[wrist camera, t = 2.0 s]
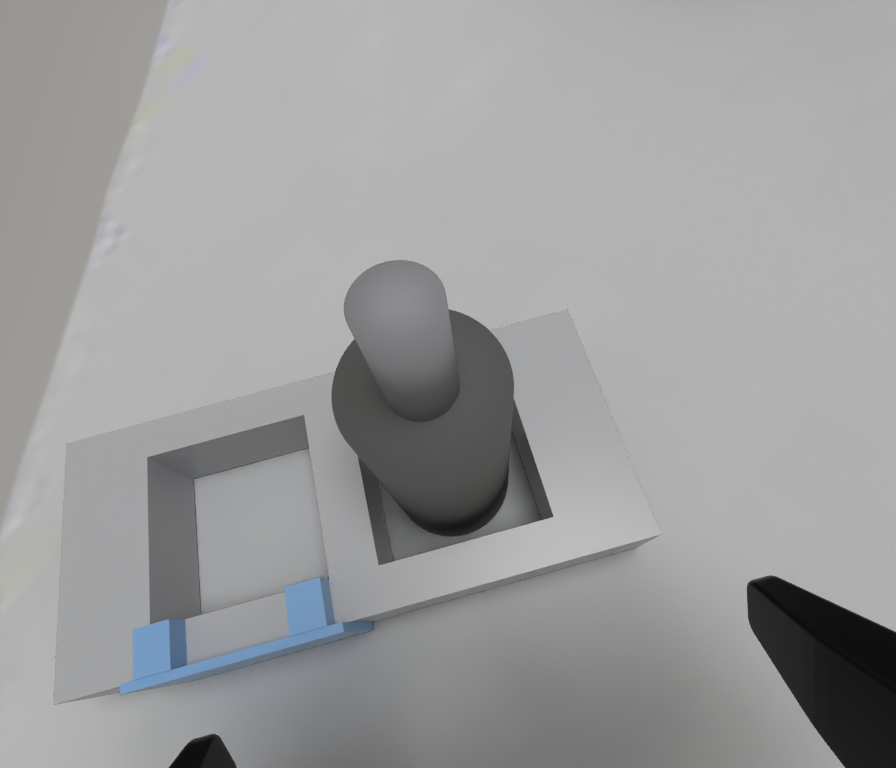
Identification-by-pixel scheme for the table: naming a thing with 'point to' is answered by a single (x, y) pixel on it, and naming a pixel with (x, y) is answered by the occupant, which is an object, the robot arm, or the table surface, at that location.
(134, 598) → the cinder block
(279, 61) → the table surface
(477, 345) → the plug
